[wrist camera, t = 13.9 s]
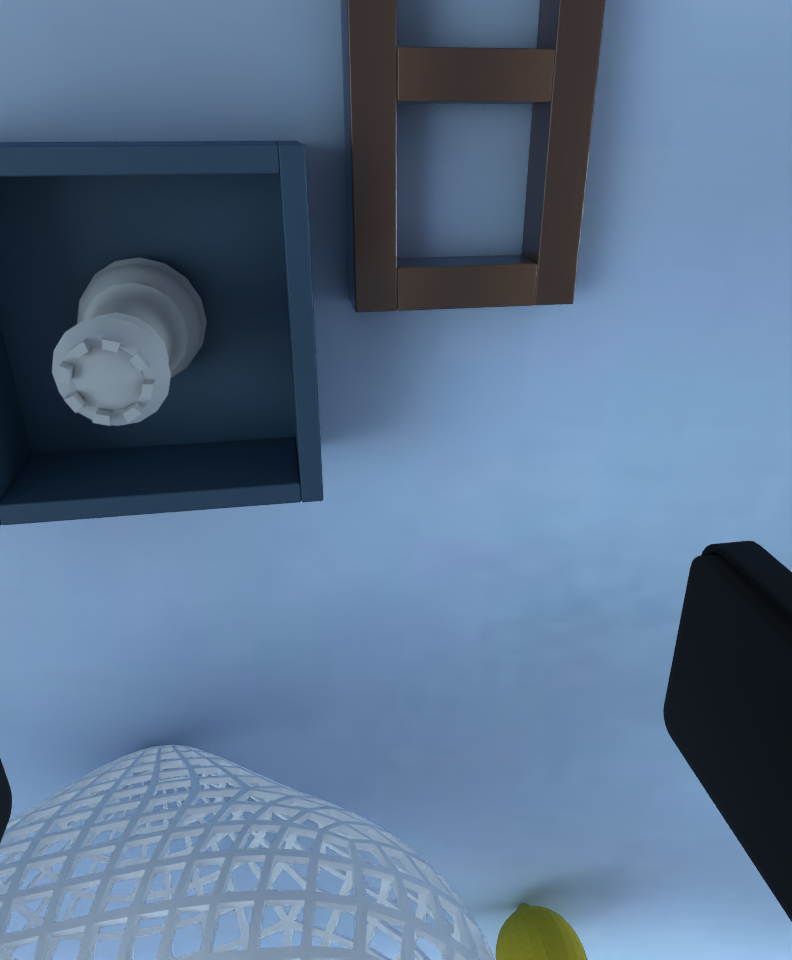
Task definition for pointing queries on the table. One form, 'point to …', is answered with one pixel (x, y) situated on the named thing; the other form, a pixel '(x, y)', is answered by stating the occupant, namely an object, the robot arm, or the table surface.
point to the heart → (271, 796)
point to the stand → (468, 80)
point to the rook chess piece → (128, 341)
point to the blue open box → (227, 341)
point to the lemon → (538, 937)
